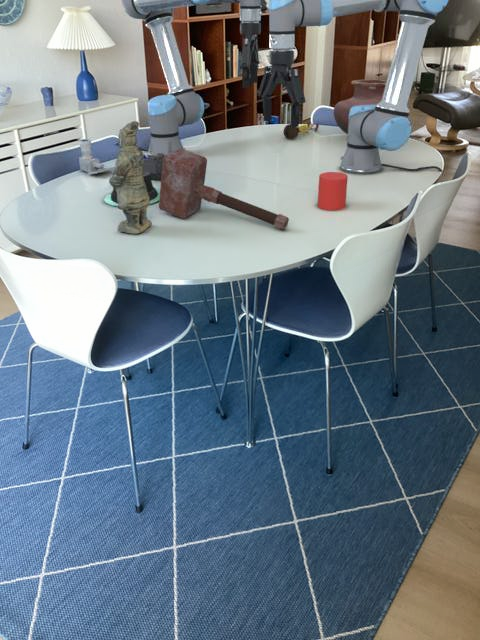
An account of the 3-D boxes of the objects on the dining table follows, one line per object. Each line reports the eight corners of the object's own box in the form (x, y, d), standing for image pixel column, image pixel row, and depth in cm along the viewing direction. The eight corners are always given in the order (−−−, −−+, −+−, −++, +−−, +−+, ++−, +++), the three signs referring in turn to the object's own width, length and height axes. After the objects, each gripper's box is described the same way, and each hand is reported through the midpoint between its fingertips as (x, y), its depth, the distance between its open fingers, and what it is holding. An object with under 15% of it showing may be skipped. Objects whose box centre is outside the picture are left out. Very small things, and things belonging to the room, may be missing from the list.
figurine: (325, 121, 268) (300, 123, 249) (324, 137, 271) (299, 140, 252) (301, 118, 274) (275, 120, 255) (300, 134, 277) (274, 137, 258)
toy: (139, 150, 209) (172, 153, 203) (141, 172, 213) (174, 177, 207) (125, 155, 202) (159, 159, 196) (128, 178, 206) (161, 183, 200)
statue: (131, 220, 168) (117, 116, 152) (158, 224, 164) (147, 118, 149) (109, 233, 159) (93, 124, 144) (138, 237, 156) (124, 126, 140)
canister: (314, 202, 179) (316, 172, 174) (340, 200, 180) (343, 171, 175) (321, 211, 172) (323, 180, 167) (348, 209, 173) (351, 178, 168)
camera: (89, 136, 215) (112, 142, 207) (93, 167, 222) (116, 174, 213) (70, 140, 210) (93, 147, 201) (75, 171, 216) (97, 179, 207)
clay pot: (397, 133, 263) (404, 75, 251) (402, 148, 238) (410, 85, 225) (333, 131, 268) (336, 75, 256) (330, 146, 243) (334, 85, 230)
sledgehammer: (299, 190, 156) (179, 147, 167) (285, 200, 148) (161, 154, 160) (286, 244, 166) (174, 200, 177) (272, 256, 158) (156, 209, 170)
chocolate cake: (91, 202, 180) (113, 186, 197) (142, 231, 182) (160, 212, 199) (107, 162, 172) (129, 148, 190) (160, 192, 174) (177, 176, 192)
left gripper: (253, 24, 189) (252, 90, 200) (267, 20, 210) (265, 80, 221) (231, 24, 191) (232, 90, 202) (247, 20, 211) (247, 80, 222)
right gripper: (247, 48, 173) (248, 119, 184) (299, 53, 156) (297, 131, 166) (266, 46, 177) (265, 116, 188) (319, 51, 159) (315, 128, 170)
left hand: (250, 85), depth 211 cm, fingers open, 13 cm apart
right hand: (280, 123), depth 177 cm, fingers open, 13 cm apart
